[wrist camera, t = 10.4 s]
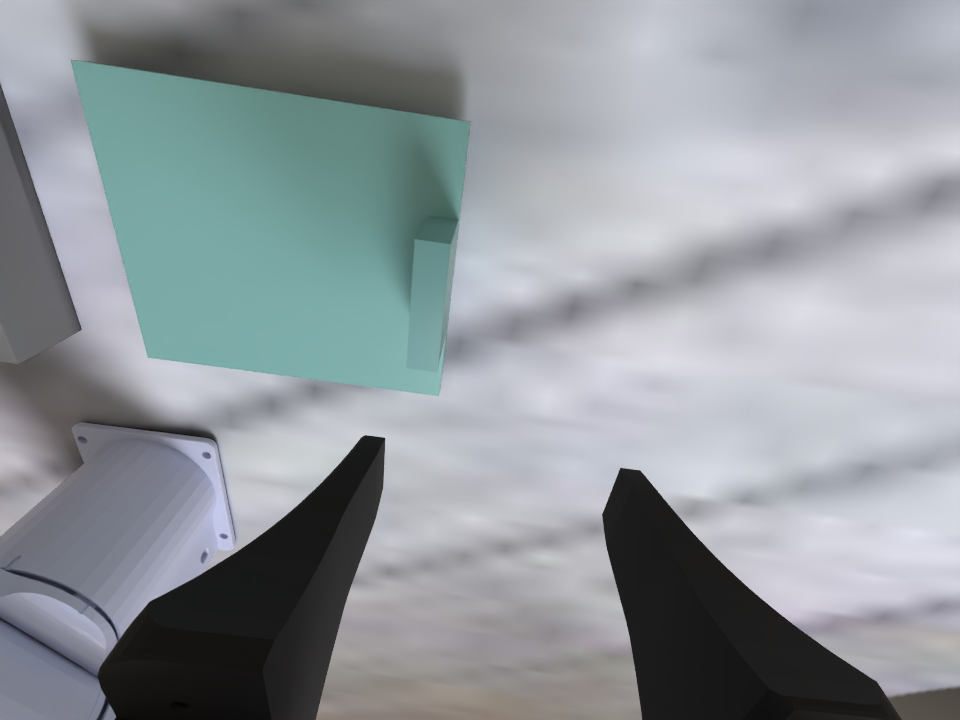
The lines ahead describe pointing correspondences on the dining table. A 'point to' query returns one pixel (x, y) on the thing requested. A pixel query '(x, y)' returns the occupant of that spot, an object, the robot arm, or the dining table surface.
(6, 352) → the tub
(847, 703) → the robot arm
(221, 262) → the lid
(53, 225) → the dining table surface
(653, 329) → the dining table surface
